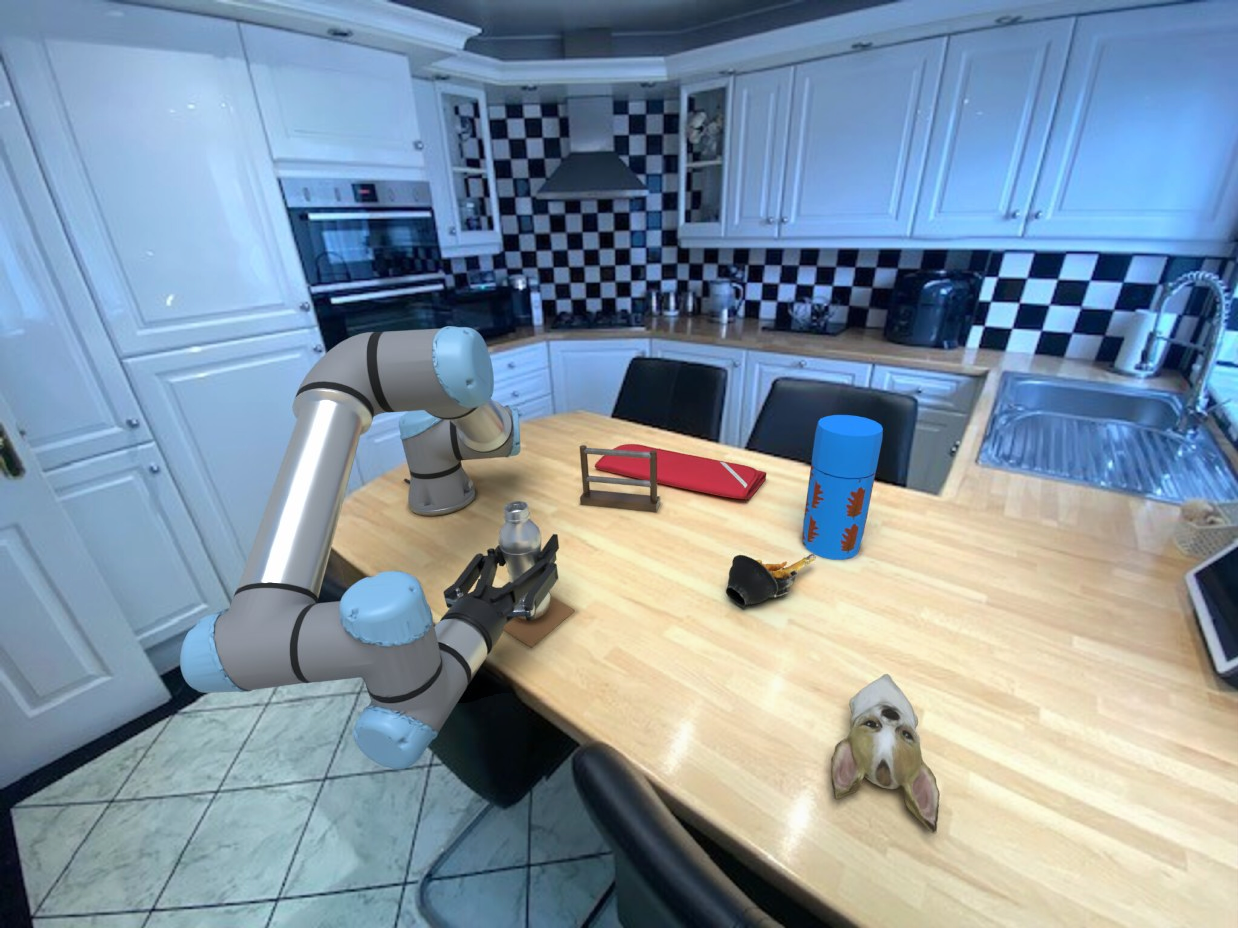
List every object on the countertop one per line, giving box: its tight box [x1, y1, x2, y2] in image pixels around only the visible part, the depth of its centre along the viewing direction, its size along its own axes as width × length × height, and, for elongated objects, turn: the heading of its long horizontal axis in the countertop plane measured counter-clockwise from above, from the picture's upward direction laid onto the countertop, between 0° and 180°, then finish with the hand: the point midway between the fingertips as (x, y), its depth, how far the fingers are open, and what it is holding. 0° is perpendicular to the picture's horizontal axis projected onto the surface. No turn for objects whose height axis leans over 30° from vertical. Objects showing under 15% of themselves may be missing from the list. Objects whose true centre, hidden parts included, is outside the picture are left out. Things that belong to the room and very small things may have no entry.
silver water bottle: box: [497, 500, 551, 619], centre depth 80 cm, size 6×7×20 cm
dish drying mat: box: [594, 443, 767, 500], centre depth 128 cm, size 16×41×4 cm, turn 58°
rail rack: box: [579, 444, 661, 513], centre depth 114 cm, size 18×4×14 cm, turn 75°
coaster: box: [503, 596, 576, 648], centre depth 84 cm, size 10×10×1 cm
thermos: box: [801, 414, 884, 561], centre depth 94 cm, size 11×11×25 cm
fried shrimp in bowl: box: [725, 553, 817, 608], centre depth 87 cm, size 9×11×18 cm
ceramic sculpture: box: [830, 673, 941, 835], centre depth 58 cm, size 11×9×15 cm
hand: (536, 538), depth 84 cm, fingers closed on silver water bottle, 6 cm apart
